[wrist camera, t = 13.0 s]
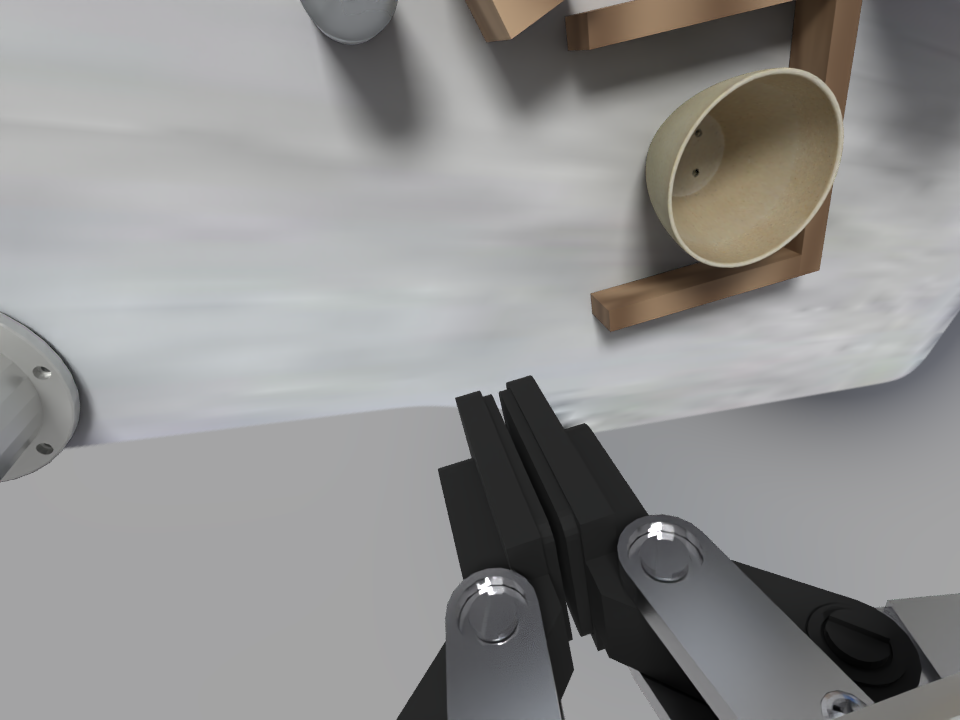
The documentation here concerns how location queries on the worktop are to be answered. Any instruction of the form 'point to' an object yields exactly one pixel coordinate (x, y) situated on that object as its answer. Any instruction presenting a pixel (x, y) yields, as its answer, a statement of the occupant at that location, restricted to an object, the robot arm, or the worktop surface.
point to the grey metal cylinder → (350, 18)
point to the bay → (815, 48)
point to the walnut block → (507, 16)
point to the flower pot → (745, 165)
